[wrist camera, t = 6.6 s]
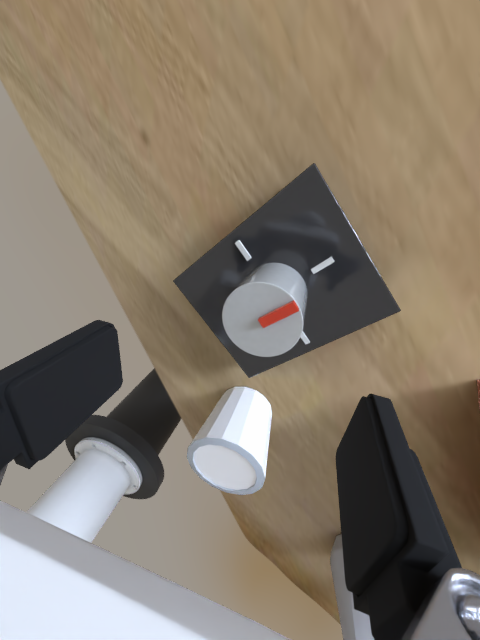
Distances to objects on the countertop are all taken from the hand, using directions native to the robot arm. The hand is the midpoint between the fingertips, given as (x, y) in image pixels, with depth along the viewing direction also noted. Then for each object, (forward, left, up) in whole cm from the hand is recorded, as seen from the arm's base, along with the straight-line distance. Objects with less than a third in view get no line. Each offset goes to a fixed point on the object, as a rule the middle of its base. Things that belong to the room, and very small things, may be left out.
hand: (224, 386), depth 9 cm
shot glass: (-10, -9, -12) cm, 19 cm away
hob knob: (+1, 0, -9) cm, 9 cm away
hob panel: (+1, 0, -12) cm, 12 cm away
